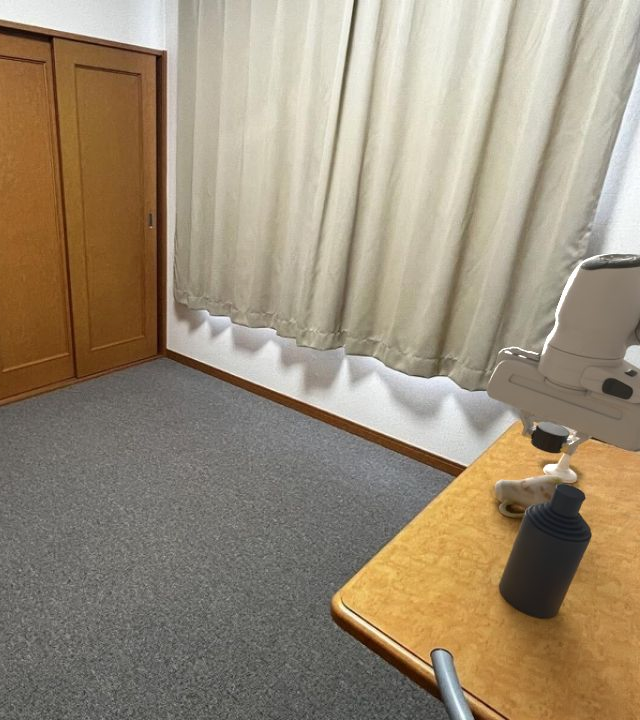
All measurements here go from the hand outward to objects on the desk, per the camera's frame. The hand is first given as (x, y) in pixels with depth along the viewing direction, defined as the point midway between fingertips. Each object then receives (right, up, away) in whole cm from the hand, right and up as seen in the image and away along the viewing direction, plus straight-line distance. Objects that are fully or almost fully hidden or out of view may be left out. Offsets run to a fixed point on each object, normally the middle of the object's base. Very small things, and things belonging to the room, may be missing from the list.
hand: (547, 444), depth 75 cm
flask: (-12, -19, -11) cm, 25 cm away
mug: (0, -12, +5) cm, 13 cm away
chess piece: (+13, -8, +13) cm, 20 cm away
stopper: (0, 0, 0) cm, 0 cm away
